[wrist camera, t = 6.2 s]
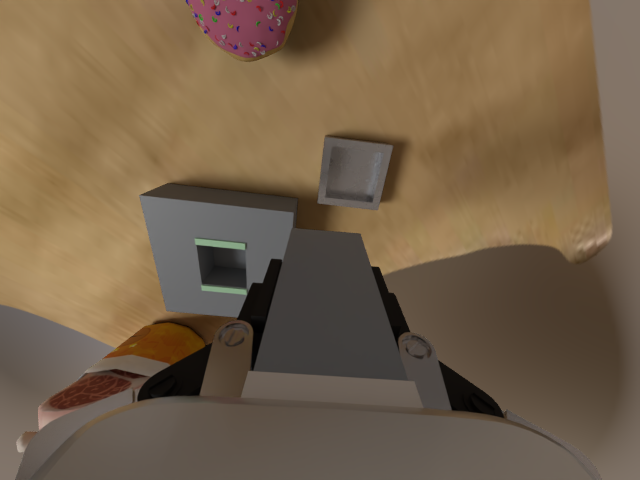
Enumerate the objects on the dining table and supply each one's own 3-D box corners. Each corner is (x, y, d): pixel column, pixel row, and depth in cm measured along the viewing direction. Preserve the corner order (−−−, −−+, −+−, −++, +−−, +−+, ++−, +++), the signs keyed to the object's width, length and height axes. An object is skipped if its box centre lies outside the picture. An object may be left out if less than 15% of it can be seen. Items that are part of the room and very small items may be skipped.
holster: (324, 135, 27) (325, 137, 24) (387, 143, 27) (393, 145, 25) (317, 197, 30) (317, 203, 28) (373, 203, 30) (377, 210, 28)
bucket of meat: (127, 365, 45) (1, 526, 28) (109, 299, 38) (-78, 460, 20) (234, 379, 47) (180, 539, 29) (237, 318, 39) (168, 483, 22)
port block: (167, 183, 29) (137, 195, 25) (297, 198, 30) (293, 213, 25) (185, 287, 36) (165, 312, 32) (290, 297, 37) (285, 323, 33)
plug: (289, 226, 14) (238, 405, 5) (362, 232, 14) (426, 416, 5) (287, 284, 16) (247, 485, 7) (351, 289, 16) (386, 491, 7)
